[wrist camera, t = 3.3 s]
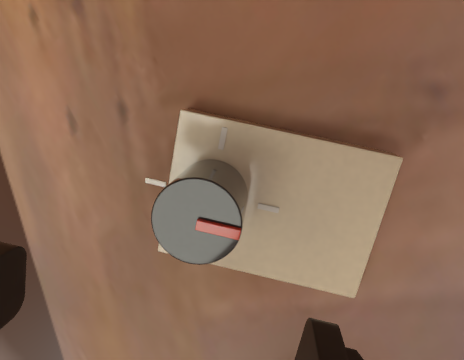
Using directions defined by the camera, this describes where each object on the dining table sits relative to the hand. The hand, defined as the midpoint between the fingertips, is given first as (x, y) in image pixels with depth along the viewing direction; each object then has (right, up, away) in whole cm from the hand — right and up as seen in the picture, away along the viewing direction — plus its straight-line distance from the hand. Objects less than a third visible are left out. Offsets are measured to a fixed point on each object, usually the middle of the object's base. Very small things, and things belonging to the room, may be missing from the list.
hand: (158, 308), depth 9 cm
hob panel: (+5, +2, +15) cm, 16 cm away
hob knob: (+1, +3, +13) cm, 13 cm away
